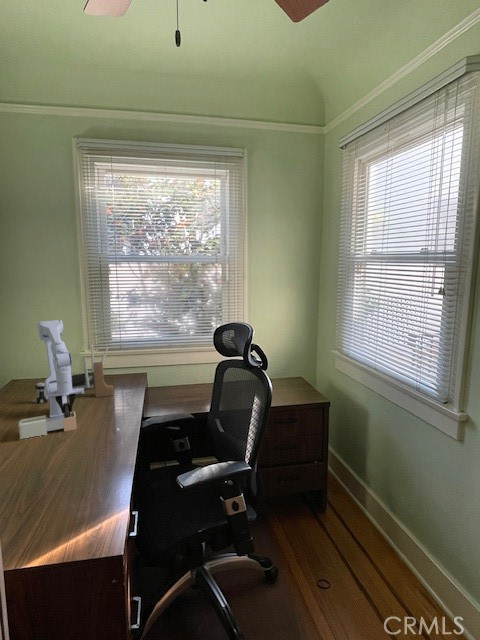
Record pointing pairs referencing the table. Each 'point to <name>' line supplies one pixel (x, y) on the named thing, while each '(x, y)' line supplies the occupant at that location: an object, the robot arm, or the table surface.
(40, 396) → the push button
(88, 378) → the wireless router
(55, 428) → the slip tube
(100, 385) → the wooden block
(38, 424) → the white channel beam
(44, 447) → the table surface
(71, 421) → the socket
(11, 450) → the table surface
